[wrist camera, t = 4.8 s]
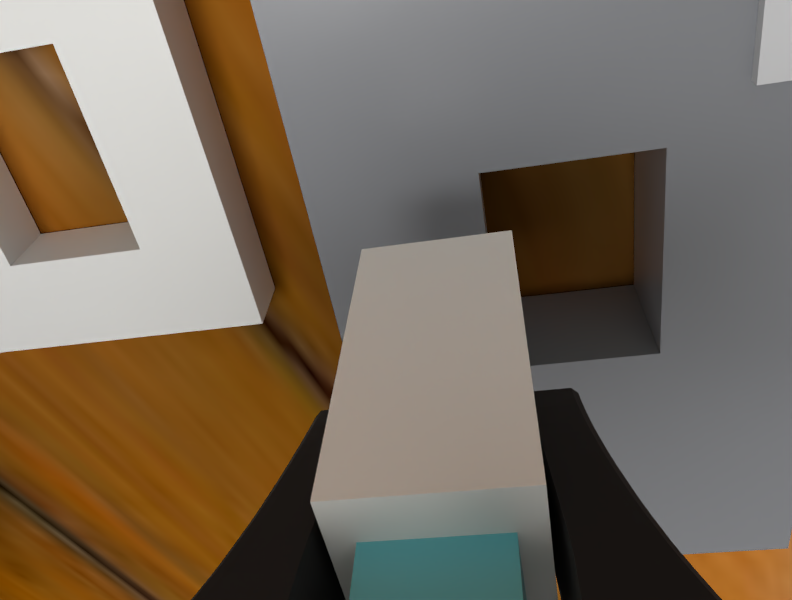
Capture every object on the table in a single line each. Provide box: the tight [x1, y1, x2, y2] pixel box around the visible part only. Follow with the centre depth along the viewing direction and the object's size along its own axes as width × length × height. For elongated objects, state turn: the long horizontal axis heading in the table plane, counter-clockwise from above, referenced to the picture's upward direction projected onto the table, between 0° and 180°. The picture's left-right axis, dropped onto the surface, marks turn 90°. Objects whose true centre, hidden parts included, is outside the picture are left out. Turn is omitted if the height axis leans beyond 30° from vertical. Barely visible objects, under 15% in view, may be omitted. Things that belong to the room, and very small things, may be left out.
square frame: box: [0, 0, 275, 352], centre depth 19 cm, size 11×9×2 cm
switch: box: [250, 0, 792, 554], centre depth 19 cm, size 22×12×4 cm, turn 10°
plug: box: [310, 230, 558, 600], centre depth 12 cm, size 4×3×7 cm, turn 10°
